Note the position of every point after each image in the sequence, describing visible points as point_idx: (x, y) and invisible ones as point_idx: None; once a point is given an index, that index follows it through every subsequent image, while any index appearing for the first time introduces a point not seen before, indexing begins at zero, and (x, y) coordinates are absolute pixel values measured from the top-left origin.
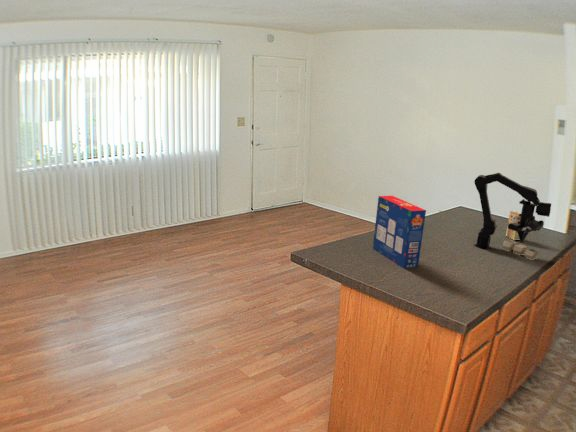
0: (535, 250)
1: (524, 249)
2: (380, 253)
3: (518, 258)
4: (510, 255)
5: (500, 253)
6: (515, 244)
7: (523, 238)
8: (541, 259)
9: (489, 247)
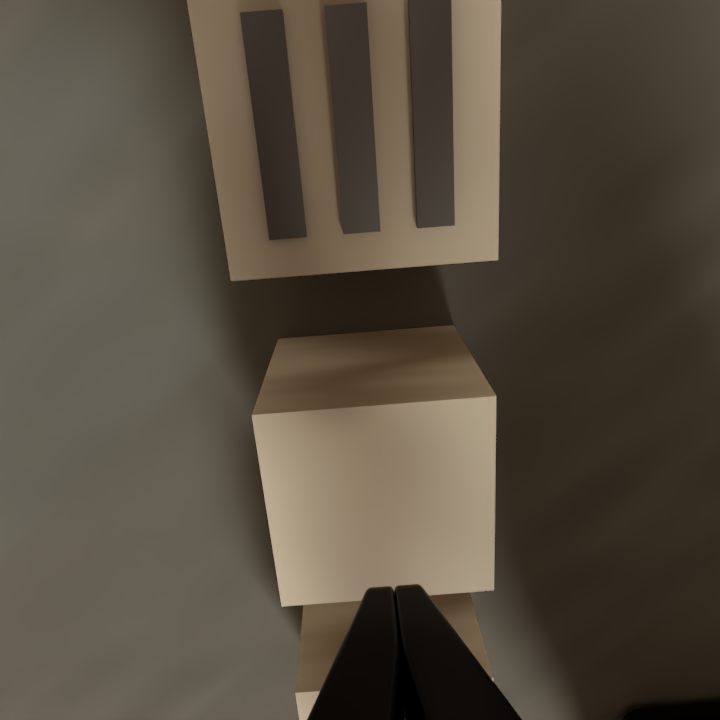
0: (222, 108)
1: (354, 385)
2: None
3: (622, 210)
4: (623, 387)
5: (709, 504)
6: (319, 660)
7: (430, 680)
8: (109, 12)
9: (676, 716)
